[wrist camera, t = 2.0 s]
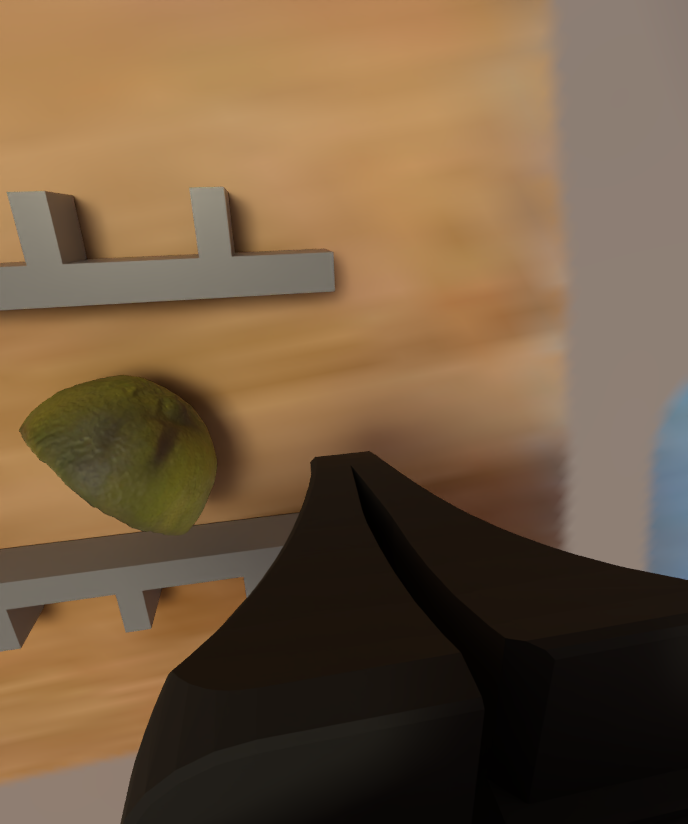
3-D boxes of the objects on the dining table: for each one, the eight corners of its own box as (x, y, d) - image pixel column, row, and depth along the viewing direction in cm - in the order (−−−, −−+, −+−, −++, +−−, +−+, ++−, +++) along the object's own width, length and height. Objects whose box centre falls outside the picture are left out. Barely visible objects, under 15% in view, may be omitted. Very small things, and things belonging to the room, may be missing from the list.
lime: (219, 487, 16) (203, 590, 12) (65, 480, 15) (-18, 590, 11) (227, 362, 15) (212, 424, 10) (56, 346, 14) (-43, 406, 9)
